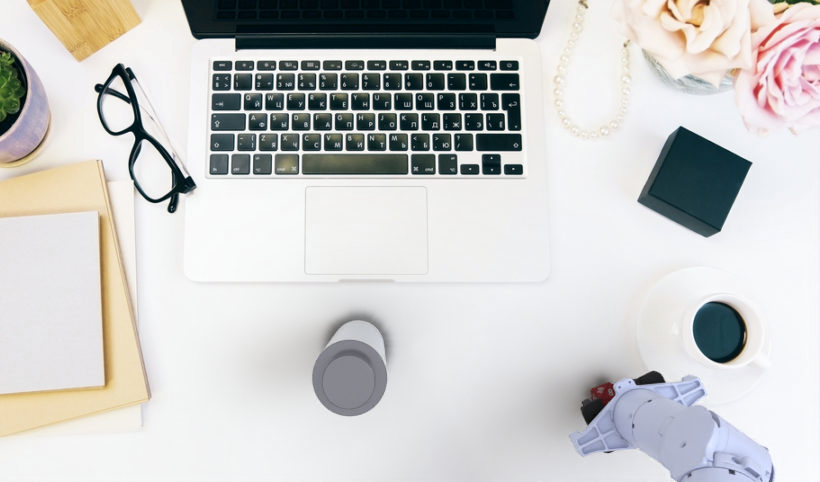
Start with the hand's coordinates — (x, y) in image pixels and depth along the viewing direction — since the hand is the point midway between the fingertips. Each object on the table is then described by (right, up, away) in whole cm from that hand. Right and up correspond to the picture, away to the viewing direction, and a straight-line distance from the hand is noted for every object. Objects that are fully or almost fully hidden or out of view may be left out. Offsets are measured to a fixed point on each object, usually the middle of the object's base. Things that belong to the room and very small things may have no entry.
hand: (606, 398), depth 70 cm
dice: (0, 0, +2) cm, 2 cm away
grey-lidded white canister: (-29, +6, +2) cm, 30 cm away
